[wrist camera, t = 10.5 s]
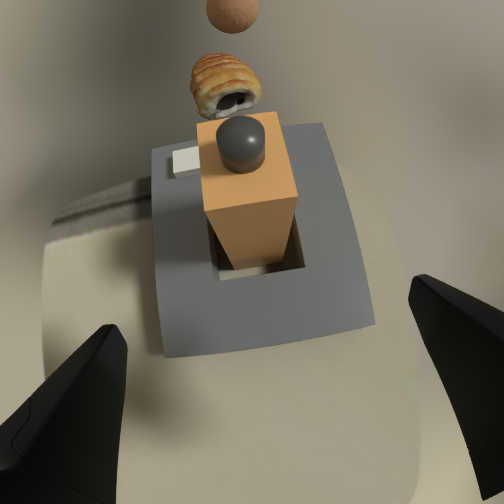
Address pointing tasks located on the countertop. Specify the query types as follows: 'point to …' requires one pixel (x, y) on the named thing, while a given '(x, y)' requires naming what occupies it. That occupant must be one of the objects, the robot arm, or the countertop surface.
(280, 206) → the plug
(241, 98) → the pastry
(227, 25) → the egg
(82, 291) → the countertop surface
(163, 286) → the socket
